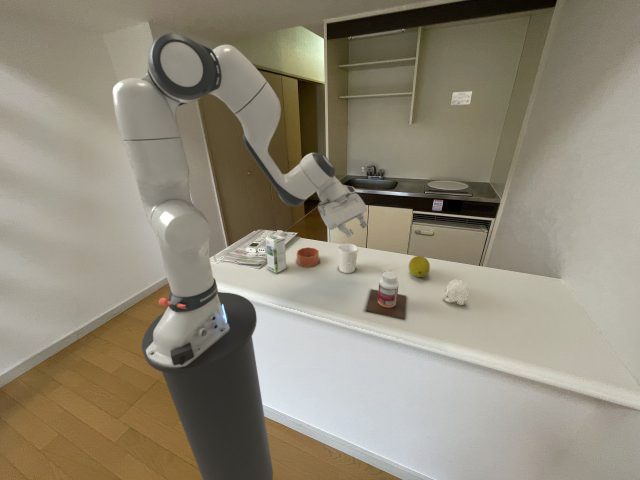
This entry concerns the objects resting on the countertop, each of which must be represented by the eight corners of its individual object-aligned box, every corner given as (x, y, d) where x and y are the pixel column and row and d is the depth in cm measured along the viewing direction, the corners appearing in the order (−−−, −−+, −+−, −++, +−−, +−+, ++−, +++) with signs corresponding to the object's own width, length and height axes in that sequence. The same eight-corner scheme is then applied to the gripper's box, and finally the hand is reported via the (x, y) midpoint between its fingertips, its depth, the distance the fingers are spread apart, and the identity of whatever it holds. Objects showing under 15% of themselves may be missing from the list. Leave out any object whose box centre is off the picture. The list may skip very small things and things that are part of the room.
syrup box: (267, 269, 108) (264, 237, 102) (278, 263, 112) (275, 233, 106) (276, 273, 104) (273, 241, 98) (287, 268, 109) (285, 236, 102)
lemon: (409, 267, 109) (412, 250, 105) (429, 271, 105) (432, 254, 102) (404, 279, 100) (407, 261, 97) (425, 285, 97) (429, 266, 93)
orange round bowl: (314, 268, 108) (314, 258, 106) (293, 264, 111) (293, 255, 109) (321, 258, 116) (321, 249, 114) (301, 254, 119) (301, 246, 117)
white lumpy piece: (449, 283, 82) (447, 268, 93) (444, 305, 85) (442, 288, 96) (471, 287, 80) (466, 271, 91) (465, 310, 83) (461, 292, 94)
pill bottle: (384, 294, 91) (387, 267, 86) (399, 302, 86) (403, 274, 82) (373, 302, 87) (376, 274, 82) (389, 311, 83) (393, 282, 78)
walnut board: (404, 319, 80) (404, 318, 80) (365, 311, 83) (365, 309, 83) (405, 296, 90) (405, 295, 90) (371, 290, 94) (371, 289, 93)
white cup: (333, 268, 108) (334, 247, 104) (347, 262, 113) (348, 241, 108) (346, 276, 103) (347, 254, 98) (360, 269, 107) (361, 248, 103)
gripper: (320, 198, 76) (347, 236, 74) (356, 186, 90) (379, 218, 89) (309, 209, 80) (334, 246, 78) (345, 196, 95) (366, 227, 93)
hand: (358, 231), depth 84 cm, fingers open, 8 cm apart
